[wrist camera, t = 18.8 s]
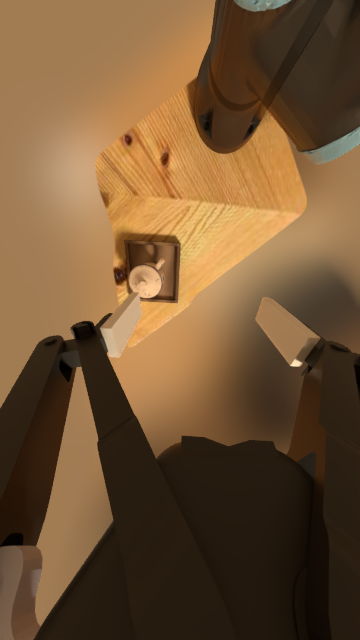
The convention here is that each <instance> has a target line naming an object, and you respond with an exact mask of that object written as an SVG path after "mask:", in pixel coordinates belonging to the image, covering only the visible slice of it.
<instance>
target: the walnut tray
mask: <svg viewBox="0 0 360 640" xmlns="http://www.w3.org/2000/svg"><path fill="white" fill-rule="evenodd" d="M124 242H125V252H126V261H127V270H128V280H129V274H130V272H131V270H132V269H133V268H134V267H135V266H137V265H140V264H145V263H155V264H157V262H158V261H159V260H160V259H161V258H164V259H165V262H164V264H163V265H162V266H161V268H162V270H163V272H164V275H165V280H164V283H163V285H162V288H161V290H160V292H159V293H158V294H157V295H156V296H154V297H152V298H142V297H140V301H148V302H166V303H178V287H179V266H180V246H181V243H165V242H148V241H132V240H124ZM129 289H130V294H131V293H132V292H133V291H132V289H131V287H130V285H129Z"/></svg>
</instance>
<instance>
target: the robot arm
mask: <svg viewBox="0 0 360 640" xmlns="http://www.w3.org/2000/svg"><path fill="white" fill-rule="evenodd" d="M309 40H310V41H309ZM284 81H285V82H284ZM276 94H277V95H276ZM273 99H274V100H273ZM266 108H267V109H268V111H269V113H270V114H271V115H272V116H273V118H274V119H275V120H276V121H277V123H278V124H279V125H280V127H281V128H282V129H283V130H284V132H285V133H286V134H287V135H288V137H289V138H290V139H291V140H292V142H293V143H294V144H295V146H296V149H297V151H298V152H299V153H300V154H303V155H304V156H305V157H306V158H307V159H308V160H309V161H310V162H311V163H314V164H323V163H327V162H329V161H331V160H334V159H336V158H338V157H339V156H341V155H343V154H345V153H346V152H348V151H350V150H351V149H353V148H354V147H356V146H357V145H359V144H360V0H216V2H215V11H214V18H213V26H212V34H211V42H210V44H209V46H208V49H207V51H206V54H205V56H204V58H203V61H202V63H201V66H200V69H199V73H198V77H197V82H196V89H195V101H194V113H195V121H196V125H197V129H198V132H199V134H200V136H201V138H202V140H203V141H204V143H205V144H206V145H207V146H208V147H209V148H210V149H211V150H213V151H215V152H217V153H222V154H226V153H231V152H234V151H236V150H238V149H240V148H241V147H242V146H244V145H245V144H246V143H247V142H248V141H249V139H250V138H251V137H252V135H253V134H254V132H255V131H256V129H257V127H258V126H259V124H260V122H261V120H262V118H263V116H264V113H265V111H266ZM141 316H142V310H141V303H140V295H139V292H132V293H131V294H130V295H129V296H128V297H127V298H126V300H125V301H124V302H123V303H122V304H121V305H120V306H119V307H118V308H117V310H116V311H115V312H114V313H109V314H107V315H106V316H104V317H103V318H102V320H100V322H99V323H98V324H97V325H96V326H94V324H93V322H91V321H82V322H79V323H76V324H75V325H73V326H72V327H71V329H70V330H71V332H72V334H73V336H74V338H75V339H72V340H66V341H64V339H63V337H61V336H58V335H57V336H51V337H47V338H45V339H43V340H42V341H40V342H39V343H38V344H37V346H36V348H35V349H34V351H33V353H32V355H31V356H30V358H29V360H28V362H27V363H26V365H25V367H24V369H23V370H22V372H21V374H20V375H19V377H18V379H17V381H16V382H15V384H14V386H13V388H12V389H11V391H10V393H9V394H8V396H7V398H6V400H5V402H4V403H3V405H2V407H1V408H0V640H360V354H357V353H352V352H351V350H349V349H348V348H347V347H345V346H344V345H342V344H339V343H337V342H332V341H326V340H325V339H323V338H322V337H321V336H319V335H318V334H317V333H316V332H314V331H313V330H312V329H310V327H308V326H307V325H306V324H304V323H302V322H300V321H299V320H297V319H296V318H295V317H294V316H293V315H291V314H290V313H289V312H288V311H286V310H285V309H284V308H283V307H281V306H280V305H279V304H278V303H277V302H275V301H274V300H273V299H272V298H268V297H263V299H262V302H261V305H260V307H259V310H258V313H257V316H256V319H255V320H256V321H257V323H258V324H259V325H260V327H261V328H262V329H263V331H264V332H265V333H266V335H267V336H268V337H269V339H270V340H271V341H272V342H273V344H274V345H275V346H276V348H277V349H278V350H279V352H280V353H281V354H282V356H283V357H284V358H285V359H286V361H287V362H288V363H289V365H290V366H301V365H302V364H303V362H304V361H306V362H307V363H308V366H307V367H306V369H305V370H304V371H303V373H302V374H301V375H302V376H303V375H304V379H303V384H302V389H301V394H300V400H299V404H298V409H297V414H296V419H295V424H294V429H293V434H292V439H291V443H290V448H289V451H288V453H287V455H286V454H284V453H282V452H280V451H278V450H276V448H275V445H274V443H273V442H272V441H256V440H249V441H246V442H242V443H239V444H236V445H232V446H226V445H223V444H220V443H218V442H215V441H212V440H210V439H207V438H205V437H192V436H182V439H181V440H182V441H181V442H180V443H176V444H174V445H172V446H170V447H169V448H167V449H166V450H165V451H163V452H162V453H161V454H160V455H159V456H158V458H157V459H156V458H155V456H154V454H153V451H152V449H151V447H150V445H149V443H148V441H147V438H146V436H145V434H144V432H143V430H142V428H141V426H140V423H139V421H138V419H137V417H136V416H135V415H134V413H133V411H132V409H131V406H130V404H129V402H128V400H127V397H126V395H125V393H124V391H123V389H122V387H121V384H120V383H119V380H118V378H117V376H116V373H115V372H114V369H113V367H112V365H111V363H110V360H109V359H108V356H107V352H108V353H109V356H110V357H120V355H121V353H122V351H123V350H124V348H125V346H126V344H127V342H128V340H129V338H130V337H131V335H132V333H133V331H134V329H135V327H136V325H137V323H138V322H139V320H140V318H141ZM80 366H81V367H82V371H83V375H84V379H85V383H86V387H87V392H88V396H89V400H90V404H91V409H92V413H93V417H94V421H95V426H96V430H97V434H98V443H97V445H98V451H99V457H100V461H101V465H102V470H103V475H104V479H105V484H106V488H107V493H108V497H109V501H110V506H111V511H112V515H113V522H112V523H111V525H110V526H109V528H108V529H107V531H106V532H105V534H104V535H103V536H102V538H101V539H100V541H99V542H98V544H97V545H96V546H95V548H94V549H93V551H92V552H91V554H90V555H89V556H88V558H87V559H86V561H85V562H84V564H83V565H82V567H81V568H80V570H79V571H78V572H77V574H76V575H75V577H74V578H73V580H72V581H71V583H70V584H69V585H68V587H67V588H66V590H65V591H64V593H63V594H62V596H61V597H60V599H59V600H58V601H57V603H56V604H55V606H54V607H53V609H52V610H51V612H50V613H49V615H48V616H47V618H46V619H45V621H44V622H43V624H42V626H40V625H39V624H38V623H37V619H36V614H35V598H36V593H37V588H38V585H39V581H40V576H41V571H42V555H41V551H40V550H39V549H38V548H37V547H36V545H37V542H38V539H39V535H40V532H41V529H42V526H43V523H44V520H45V516H46V512H47V508H48V504H49V500H50V495H51V490H52V486H53V481H54V476H55V471H56V466H57V460H58V456H59V451H60V446H61V441H62V436H63V431H64V426H65V421H66V416H67V411H68V407H69V402H70V397H71V391H72V387H73V381H74V377H75V372H76V367H80Z"/></svg>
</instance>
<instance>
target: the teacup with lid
mask: <svg viewBox="0 0 360 640" xmlns="http://www.w3.org/2000/svg"><path fill="white" fill-rule="evenodd" d="M164 262H165V259H164V258H161V259H160V260H159V261H158V262H157V264H155V263H145V264H140V265H137V266H135V267H134V268H133V269H132V270H131V272H130V274H129V285H130V287H131V289H132V291H133V292H139V295H140V297H142V298H152V297H154V296H156V295H157V294H158V293H159V292H160V290H161V288H162V285H163V283H164V280H165V275H164V272H163V270H162V268H161V266H162V265H163V264H164Z"/></svg>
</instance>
